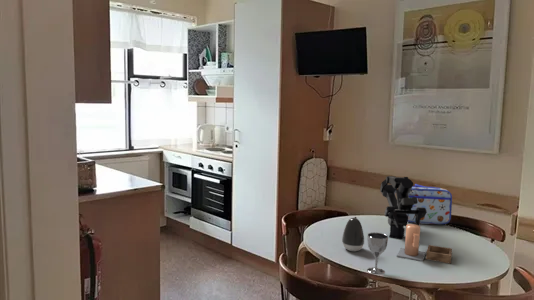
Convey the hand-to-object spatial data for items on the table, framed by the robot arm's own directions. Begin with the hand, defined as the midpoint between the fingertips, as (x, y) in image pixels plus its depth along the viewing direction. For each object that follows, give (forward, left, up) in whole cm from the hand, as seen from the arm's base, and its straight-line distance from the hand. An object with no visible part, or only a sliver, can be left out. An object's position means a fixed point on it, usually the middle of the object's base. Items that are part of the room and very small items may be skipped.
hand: (408, 227), depth 196 cm
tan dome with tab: (+3, -8, -10) cm, 13 cm away
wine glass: (-8, -33, -11) cm, 35 cm away
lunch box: (+2, +52, -11) cm, 53 cm away
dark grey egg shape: (-23, -13, -11) cm, 28 cm away
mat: (+3, -7, -10) cm, 13 cm away
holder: (+14, -4, -10) cm, 18 cm away
